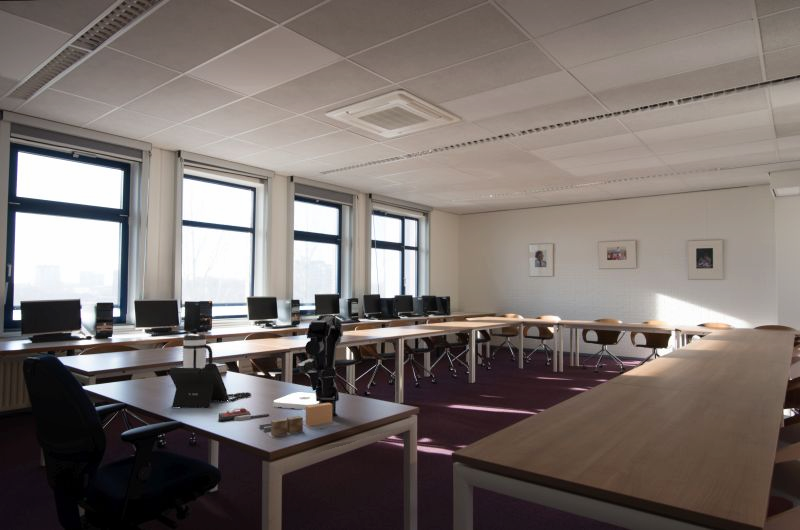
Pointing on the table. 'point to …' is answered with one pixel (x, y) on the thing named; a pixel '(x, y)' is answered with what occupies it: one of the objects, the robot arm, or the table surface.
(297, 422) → the offcut
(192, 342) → the coffee press
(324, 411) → the light brown flat block
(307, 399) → the white plate
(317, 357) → the robot arm
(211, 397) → the office phone
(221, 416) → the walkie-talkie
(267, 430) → the rack
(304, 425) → the mat
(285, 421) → the offcut
